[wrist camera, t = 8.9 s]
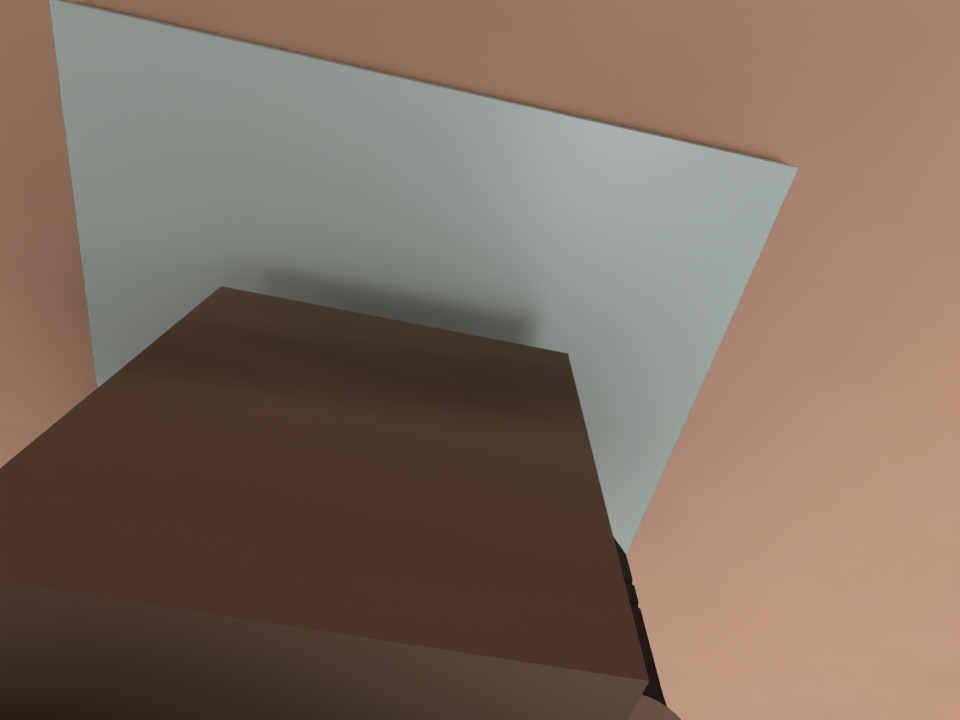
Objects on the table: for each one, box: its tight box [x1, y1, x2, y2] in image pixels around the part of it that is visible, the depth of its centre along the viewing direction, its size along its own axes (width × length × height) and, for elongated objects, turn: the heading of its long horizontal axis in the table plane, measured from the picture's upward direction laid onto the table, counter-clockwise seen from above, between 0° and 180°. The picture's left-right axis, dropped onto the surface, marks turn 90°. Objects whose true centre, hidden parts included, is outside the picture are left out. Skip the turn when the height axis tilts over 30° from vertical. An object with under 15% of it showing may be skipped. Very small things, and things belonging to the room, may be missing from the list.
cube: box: [0, 286, 649, 720], centre depth 9 cm, size 6×6×6 cm
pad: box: [49, 0, 798, 554], centre depth 13 cm, size 13×13×1 cm
